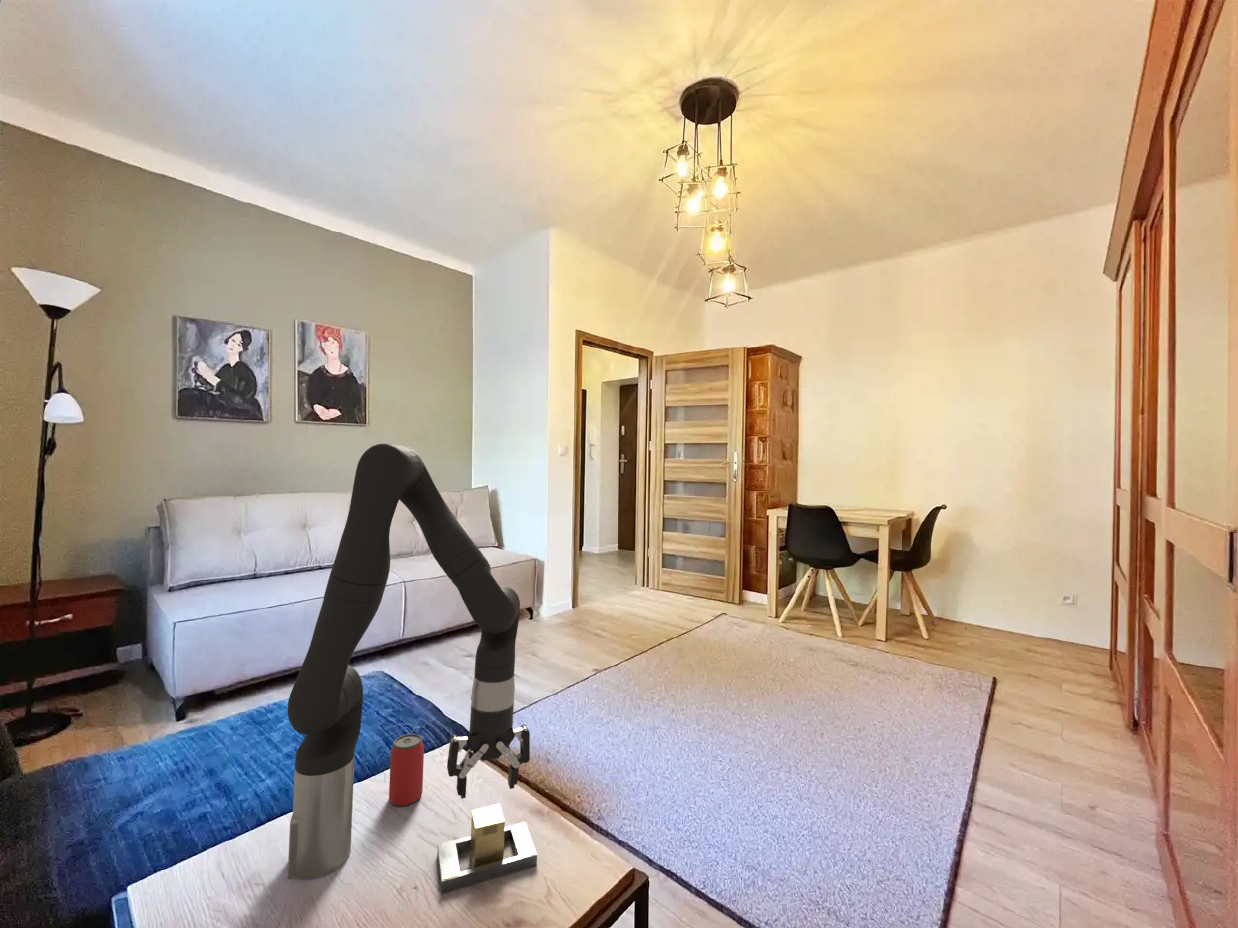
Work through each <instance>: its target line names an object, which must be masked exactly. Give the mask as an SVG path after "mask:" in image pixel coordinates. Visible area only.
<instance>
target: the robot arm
mask: <svg viewBox="0 0 1238 928" xmlns="http://www.w3.org/2000/svg"><path fill="white" fill-rule="evenodd" d="M399 501H400V502H401V503H402V504H403V505H404V506H405V507H406V508H407V509H408V510H409V512H410V513H411V515H412V516H413V517H414V519H415V520H416V523H417V524H418V525H419V529H421V533H422V535H423V537H424V540H425V542H426V544H427V546H428V548H429V550H430V553H431V555H432V556H433V558H434V560H435V562H436V563H437V564H438V566H439V567H440V568H441V569H442V570H443V572H444V573H445V574H446V576H447V577H448V579H449V580H450V581H451V583H453V585H454V586H455V588H456V589H457V590H458V592H459V594H460V597H461V599H462V601H463V603H464V606H465V607H466V609H467V611H468V612H469V614H470V617H472V620H473V621H474V622H475V623H476V624H477V625H478V626H479V628H480V629H481V630H480V640H479V643H478V644H477V648H476V652H475V662H474V676H473V683H472V688H471V695H470V701H471V702H470V718H469V731H468V734H467V735H466V736H458V735H457V734H452V735H451V736H450V740H449V748H448V755H447V762H446V763H447V765H446V770H447V774H448V777H450V778H451V777H456V791H457V792H456V793H457V796H460V799H466V797H467V782H468V778H467V775H468V774H469V772H470V771H471V769H472V768H475V766H476V764H478V762H479V761H481V762H484V761H488V760H490V759H493V760H495V759H496V760H497V759H500V758H501V756H504V758H505V759H506V761H507V762H509V763H508V774H507V778H508V779H507V784H508V787H509V789H510V790H512V789H515V785H517V784H518V782H519V770H520V766H521V765H522V764H527V763H529V762H530V760H531V757H530V756H531V755H530V753H531V752H530V751H531V750H530V749H531V747H530V746H531V743H530V737H531V735H530V731H529V728H528V726H527V725H526V724H521V725H520V727H518V728H514V729H513V726H514V725H513V724H514V707H515V694H516V693H515V692H516V688H515V687H516V685H515V684H516V683H515V669H516V668H515V667H516V666H515V663H516V641H517V634H518V628H519V622H520V612H521V601H520V598H519V595H518V593H517V592H516V591H515V590H514V589H513V588H512V587H510V586H508V585H499V583H498V582H497V581H496V579H495V578H494V576H493V574H492V572H491V570H492V569H491V565H490V563H489V561H488V559H487V558H486V557H485V556H484V554H483V553H482V552H481V549H479V547H478V545H476V543H475V542H474V541H473V539H472V538H471V537H470V536H469V534H468V533H467V532H466V530H465V529H464V527H463V525H461V524H460V522H459V521H458V519H457V518H456V516H454V513H453V512H452V511H451V510H450V508H449V506H448V505H447V503H446V502H445V500H444V498H443V497H442V495H441V493H440V491H439V490H438V488H437V486H436V484H435V482H434V480H433V479H432V476H431V475H430V472H429V470H428V468H427V466H426V465H425V463H424V461H423V460H422V457H421V456H420V455H419V453H418V452H417V451H415V450H414V449H413V448H412V447H410V446H407V445H403V444H396V443H378V444H374V445H373V446H370V447H369V448H368V449H366V450H365V451H364V452H363V454H362V455H361V456H360V458H359V460H358V462H357V466H356V469H355V475H354V480H353V485H352V493H351V498H350V504H349V508H348V509H349V510H348V514H347V518H346V521H345V522H346V523H345V524H344V529H343V531H342V534H341V537H340V540H339V544H338V549H337V552H336V556H335V557H334V561H333V564H332V567H331V570H330V574H329V577H328V580H327V583H326V587H325V591H324V594H323V599H322V603H321V607H320V609H319V614H318V615H317V616H318V617H317V619H316V623H315V627H314V630H313V634H312V638H311V641H310V644H309V647H308V650H307V653H306V655H305V658H304V660H303V662H302V665H301V667H300V670H299V672H298V675H297V676H296V679H295V682H294V684H293V687H292V688H291V691H290V694H289V697H288V701H287V717H288V721H289V722H290V723H289V724H290V725H291V727H292V728H293V730H295V731H296V732H297V733H299V734H302V735H305V736H304V739H303V740H302V741H301V743H300V745H299V746H298V748H297V750H296V752H295V758H294V761H295V762H294V775H293V776H294V778H293V779H294V780H293V783H294V784H293V800H292V801H293V802H292V805H293V806H292V814H291V817H290V821H289V837H288V838H289V839H288V842H289V843H288V860H287V861H288V863H287V879H292V878H298V879H302V880H303V879H304V880H310V879H316V878H320V877H323V876H325V875H328V874H331V873H332V872H334V871H335V870H337V869H338V868H340V867H341V866H342V865H343V864H344V863H346V862H347V860H348V858H349V856H350V855H351V851H352V849H351V847H352V823H353V801H354V780H355V779H354V778H355V777H354V775H355V756H356V755H355V752H356V745H357V743H358V741H359V739H360V738H359V737H360V734H361V727H362V719H363V718H362V715H363V705H364V704H363V703H364V686H363V685H364V684H363V682H362V678H361V675H360V674H359V672H358V671H357V670H356V669H355V668H354V667H353V666H351V665H349V664H350V661H351V658H352V656H353V654H354V652H355V650H356V648H357V646H358V645H359V643H360V641H361V639H362V638H363V636H364V635H365V633H366V631H367V630H368V628H369V627H370V625H371V623H372V621H373V620H374V618H375V616H376V614H377V612H378V611H379V608H380V605H381V603H382V600H383V596H384V593H385V589H386V586H387V583H388V579H389V574H390V570H391V547H390V534H391V533H390V532H391V526H392V521H393V518H394V515H395V513H396V509H397V506H398V504H399ZM515 738H517V740H518V742H520V743H519V744H520V747H519V753H518V754H516V753H515V752H514V751H513V749H512V748H511V746H510V745H511V743H512V742H513V741H514V739H515ZM466 745H467V747H468V748H469V749H468V750H467V751H466V753H465V754H464V757H463V759H462V760H461V762H460V763H459V764H458V755H459V753H460V752H461V751H462V750H463V747H464V746H466Z"/></svg>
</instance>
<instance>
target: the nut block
mask: <svg viewBox="0 0 1238 928" xmlns="http://www.w3.org/2000/svg"><path fill="white" fill-rule="evenodd" d="M470 819H471V822H470V823H471V825H470V836H471V847H470V851H469V852H470V853H469V854H470V862H471V865H472V866H471V867H472V868H475V867H479V866H482V865H486V864H489V863H493V862H497V861H500V860H504V859H505V858H504V854H505V850H504V849H505V842H504V829H505V827H506V823H505V822H506V820H505V817H504V815H503V810H502V807H501V804H500V803H497V804H493V805H488V806H483V807H481V808H480V807H479V808H476V809H472V810H471V818H470Z"/></svg>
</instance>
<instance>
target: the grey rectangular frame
mask: <svg viewBox="0 0 1238 928" xmlns="http://www.w3.org/2000/svg"><path fill="white" fill-rule="evenodd" d="M508 841H510V843H511V847H512V849H513V852H514V856H512V857H508V858H503V860H500V861H497V862H493V863H489V864H486V865H482V866H479V867H475V868H473V867H472V868H468V869H464V870H461V868H460V863H459V854H462V853H463V854H464V853H467V852H470V847H471V835H468V836H464V837H460V838H457V839H453V840H449V841H445V842H441V843H438V844H437V853H436V854H437V863H438V864H437V865H438V874H439V882H440V884H439V885H440V892H441V894H445V893H449V892H452V891H455V890H460V889H463V888H467V887H469V886H473V885H476V884H477V885H478V884H480V883H483V882H486V881H491V880H493V879H497V878H500V877H504V876H507V875H511V874H515V873H518V872H521V871H524V870H527V869H531V868H535V867H537V866H538V853H537V851H536V847H535V845H534V843H533V840H532V837H531V834H530V832H529V828H528V825H527V823H526V821H523V822H520V823H516V824H512V825H508V826H505V829H504V843H505V842H508Z"/></svg>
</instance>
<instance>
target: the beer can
mask: <svg viewBox="0 0 1238 928" xmlns="http://www.w3.org/2000/svg"><path fill="white" fill-rule="evenodd" d="M424 752H425V747H424V742H423V738H422V736H421V735H419V734H417V733H416V734H415V733H408V734H403V735H401V736H399V737H397V738H396V739H395V740H394V741H393V746H392V747H391V750H390V761H389V764H390V765H389V785H388V786H389V788H388V789H389V790H388V801H389V802H390V803H391V804H392V805H395V806H399V807H400V806H401V807H402V806H404V807H405V806H408V805H411V804H413V803H414V802H417V801H418V800H419V799H420V797H422V795H423V787H424V786H423V784H424V763H425V762H424V759H425V757H424V756H425V753H424Z"/></svg>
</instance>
